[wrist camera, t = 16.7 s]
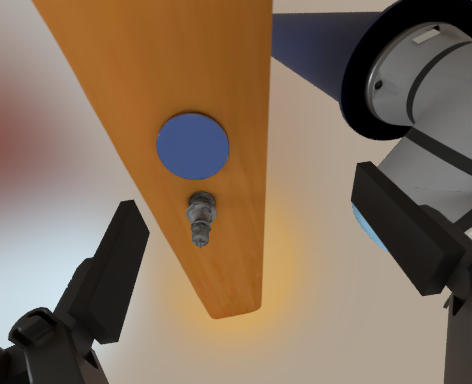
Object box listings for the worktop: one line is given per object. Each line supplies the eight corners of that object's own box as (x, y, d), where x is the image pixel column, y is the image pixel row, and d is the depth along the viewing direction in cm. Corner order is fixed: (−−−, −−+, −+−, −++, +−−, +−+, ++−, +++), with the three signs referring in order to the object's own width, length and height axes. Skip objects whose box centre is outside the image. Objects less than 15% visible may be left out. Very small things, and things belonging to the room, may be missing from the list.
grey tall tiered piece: (195, 186, 48) (191, 230, 38) (221, 198, 50) (224, 242, 40) (182, 207, 50) (175, 253, 41) (207, 217, 52) (207, 263, 43)
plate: (242, 139, 43) (243, 143, 42) (202, 186, 48) (202, 190, 47) (183, 95, 38) (182, 98, 37) (145, 152, 43) (143, 156, 41)
